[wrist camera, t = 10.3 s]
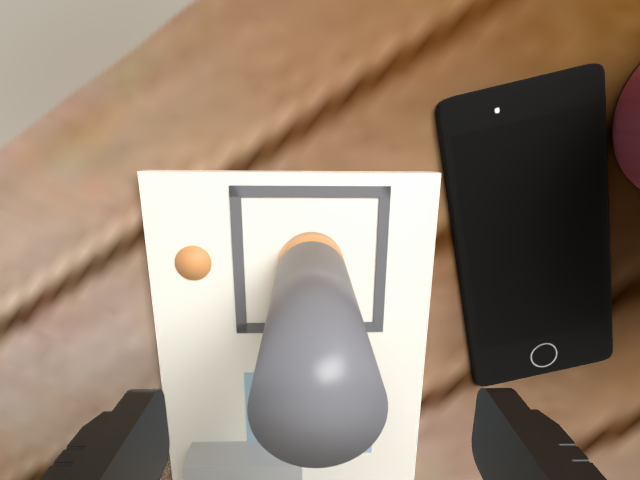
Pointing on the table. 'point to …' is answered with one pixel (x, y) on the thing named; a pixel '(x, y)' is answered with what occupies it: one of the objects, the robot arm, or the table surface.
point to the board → (255, 293)
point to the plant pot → (628, 129)
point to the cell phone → (531, 221)
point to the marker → (315, 363)
